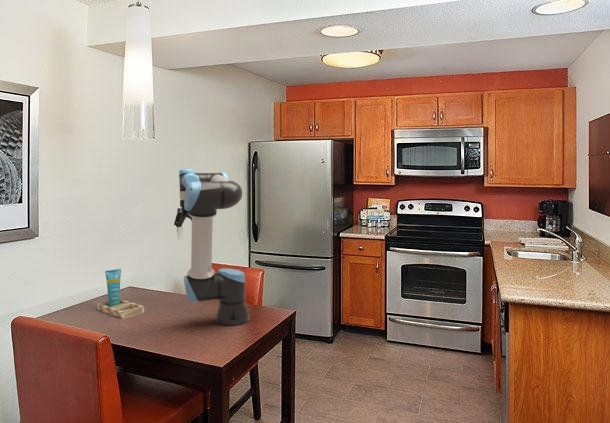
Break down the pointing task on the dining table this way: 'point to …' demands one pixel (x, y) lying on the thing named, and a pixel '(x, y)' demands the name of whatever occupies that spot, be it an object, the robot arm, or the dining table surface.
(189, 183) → the robot arm
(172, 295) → the dining table surface
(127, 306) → the wooden compartment tray
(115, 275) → the tube
